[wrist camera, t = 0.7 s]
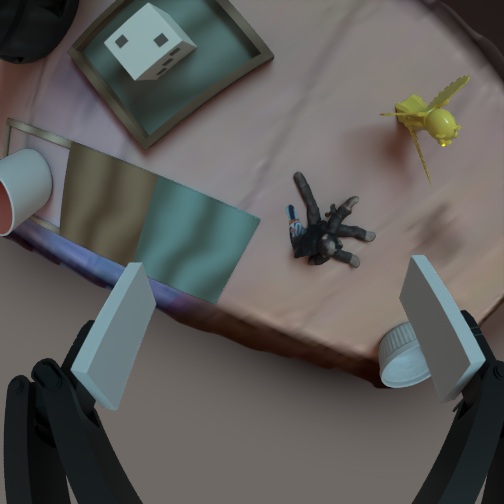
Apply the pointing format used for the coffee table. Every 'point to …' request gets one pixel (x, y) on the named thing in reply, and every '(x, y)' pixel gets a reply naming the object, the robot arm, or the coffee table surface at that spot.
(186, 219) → the track
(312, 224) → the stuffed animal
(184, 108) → the dice tray
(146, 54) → the die
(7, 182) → the cup
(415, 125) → the figurine
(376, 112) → the coffee table surface
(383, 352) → the ramekin
